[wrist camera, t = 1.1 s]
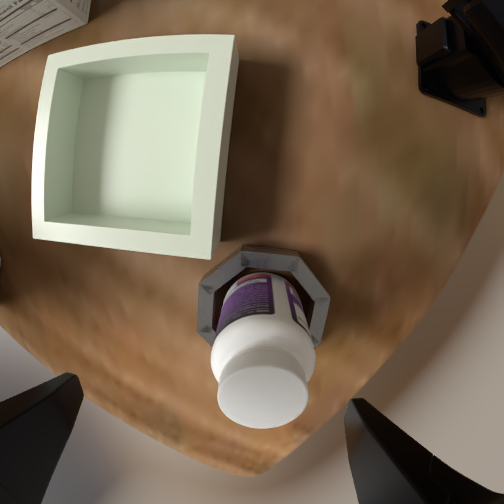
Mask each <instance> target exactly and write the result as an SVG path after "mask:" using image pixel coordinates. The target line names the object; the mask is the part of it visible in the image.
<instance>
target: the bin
mask: <svg viewBox="0 0 504 504" xmlns="http://www.w3.org/2000/svg"><path fill="white" fill-rule="evenodd" d="M238 66H239V55H238V50H237V45H236V40H235V35H209V34H203V35H171V36H156V37H145V38H136V39H128V40H120V41H113V42H107V43H101V44H96V45H90V46H85V47H81V48H76V49H72V50H67V51H63V52H59V53H55V54H52V55H48V59H47V63H46V68H45V72H44V77H43V82H42V87H41V93H40V98H39V105H38V111H37V119H36V127H35V136H34V148H33V162H32V230H33V238H35V239H42V240H50V241H58V242H66V243H74V244H82V245H90V246H98V247H106V248H114V249H122V250H131V251H139V252H148V253H156V254H165V255H173V256H182V257H191V258H200V259H209V260H211V258H212V256H213V254H214V253H215V251H216V249H217V247H218V245H219V243H220V236H221V224H222V213H223V202H224V191H225V180H226V170H227V160H228V151H229V141H230V132H231V123H232V114H233V106H234V97H235V89H236V81H237V73H238Z"/></svg>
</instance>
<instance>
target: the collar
mask: <svg viewBox="0 0 504 504" xmlns="http://www.w3.org/2000/svg"><path fill="white" fill-rule="evenodd" d="M246 267H253V268H262V269H272V270H281V271H290V272H291V273H292V274H293V275H294V277H295V278H296V279H297V280H298V282H299V283H300V284H301V285H302V287H303V288H304V289H305V290H306V291H307V293H308V294H309V295H310V296H311V299H310V304H309V309H308V315H307V320H306V321H307V324H308V328H309V331H310V334H311V338H312V341H313V345H314V347H316V346H317V345H319V344H320V343H321V339H322V335H323V331H324V326H325V322H326V317H327V313H328V308H329V304H330V299H331V298H330V295H329V293H328V291H327V289H326V288H325V287H324V285H323V284H322V283H321V281H320V280H319V279H318V278H317V276H316V275H315V274H314V272H313V271H312V270H311V268H310V267H309V266H308V265H307V263H306V262H305V261H304V259H303V258H302V257H301V256H300V254H299V253H298V252H297V251H296V250H287V249H278V248H269V247H260V246H250V245H242V246H241V247H239V248H238V249H237V250H236V251H234V252H233V253H232V254H230V255H229V256H228V257H227V258H225V259H224V260H223V261H222V262H220V263H219V264H218V265H217V266H215V267H214V268H213V269H212V270H210V271H209V272H208V273H206V274H205V275H204V276H203V278H202V280H201V281H200V283H199V293H198V319H197V331H198V333H199V334H200V335H201V336H202V337H203V338H204V339H205V340H206V341H207V342H208V343H209V344H210V345H211V346H213V343H214V339H215V335H216V331H217V327H218V323H219V322H218V321H217V320H216V319H215V305H216V290H217V289H218V288H220V287H221V286H222V285H224V284H225V283H226V282H228V281H229V280H230V279H231V278H233V277H234V276H235V275H237V274H238V273H239V272H241V271H242V270H243V269H245V268H246Z"/></svg>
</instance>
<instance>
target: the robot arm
mask: <svg viewBox="0 0 504 504" xmlns="http://www.w3.org/2000/svg"><path fill="white" fill-rule="evenodd" d="M442 7H443V8H444V9H445V10H446V11H447V13H448V12H449V13H450V14H451V16H449V17H448V18H444V17H441V18H439V19H438V20H437V21H435V22H434V23H433V24H430V23H428V22H425V21H422V20H421V21H419V22H418V23H417V24H416V28H417V36H416V37H415V38H416V62H417V65H418V87H419V90H420V92H421V93H423V94H424V95H427V96H430V97H433V98H436V99H438V100H441V101H443V102H446V103H449V104H451V105H453V106H456V107H458V108H461V109H463V110H465V111H468V112H470V113H472V114H474V115H477V116H479V117H482V116H485V114H486V99H485V98H488V97H493V96H498V95H502V94H504V0H448V1H447V2H446V3H445V4H444V5H442ZM422 25H423V26H424V28H423V27H422ZM424 85H425V86H426V87H427V90H425V88H424ZM479 108H480V110H481V112H480V110H479ZM83 397H84V394H83V390H82V387H81V384H80V381H79V378H78V376H77V375H75V374H72V373H64V374H62V375H60V376H58V377H55V378H53V379H51V380H49V381H47V382H44V383H43V384H40V385H38V386H36V387H33V388H31V389H29V390H27V391H25V392H22V393H20V394H18V395H16V396H13V397H11V398H9V399H6V400H4V401H2V402H0V504H41V502H42V500H43V497H44V495H45V492H46V490H47V487H48V485H49V482H50V480H51V477H52V475H53V473H54V470H55V468H56V465H57V463H58V461H59V458H60V456H61V454H62V452H63V450H64V448H65V445H66V443H67V441H68V439H69V436H70V434H71V432H72V429H73V427H74V424H75V420H76V418H77V415H78V412H79V409H80V406H81V403H82V400H83ZM344 425H345V433H346V442H347V450H348V459H349V464H350V468H351V472H352V477H353V480H354V485H355V489H356V493H357V497H358V502H359V504H504V494H501V493H496V492H493V491H491V490H489V489H487V488H485V487H483V486H482V485H480V484H478V483H476V482H474V481H472V480H471V479H469V478H467V477H465V476H464V475H462V474H461V473H459V472H457V471H456V470H454V469H453V468H451V467H450V466H448V465H447V464H445V463H444V462H443V461H441V460H440V459H439V458H437V457H436V456H435V455H434V456H433V454H432V453H431V452H430V451H428V450H427V449H426V448H424V447H423V446H422V445H421V444H419V443H418V442H417V441H415V440H414V439H413V438H412V437H410V436H409V435H408V434H407V433H405V432H404V431H403V430H402V429H400V428H399V427H398V426H397V425H395V424H394V423H393V422H392V421H390V420H389V419H388V418H387V417H386V416H384V415H383V414H382V413H381V412H379V411H378V410H377V409H376V408H375V407H373V406H372V405H371V404H370V403H368V402H367V401H366V400H365V399H363V398H354V399H351V400H350V401H349V404H348V408H347V410H346V414H345V417H344Z"/></svg>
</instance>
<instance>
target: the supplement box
mask: <svg viewBox="0 0 504 504" xmlns="http://www.w3.org/2000/svg"><path fill="white" fill-rule="evenodd" d="M90 4H91V0H0V67H2V66H3V65H5V64H7V63H8V62H10V61H12V60H13V59H15V58H17V57H18V56H20V55H22V54H24V53H26V52H27V51H29V50H31V49H33V48H35V47H37V46H39V45H41V44H43V43H45V42H47V41H49V40H51V39H53V38H55V37H58V36H60V35H62V34H64V33H66V32H69V31H71V30H73V29H76V28H78V27H81V26H83V25H86V24H87V23H88V18H89V11H90Z"/></svg>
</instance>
